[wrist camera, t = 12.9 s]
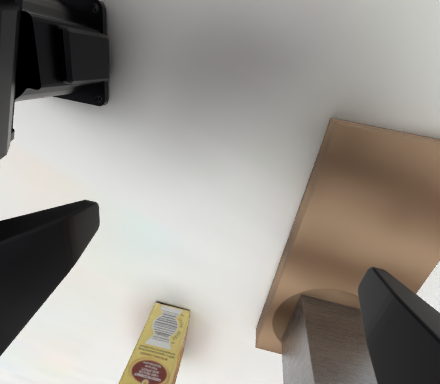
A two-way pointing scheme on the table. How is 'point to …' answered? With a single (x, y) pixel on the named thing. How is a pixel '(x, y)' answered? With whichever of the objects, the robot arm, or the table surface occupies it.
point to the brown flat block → (358, 221)
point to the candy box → (158, 347)
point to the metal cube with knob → (325, 345)
